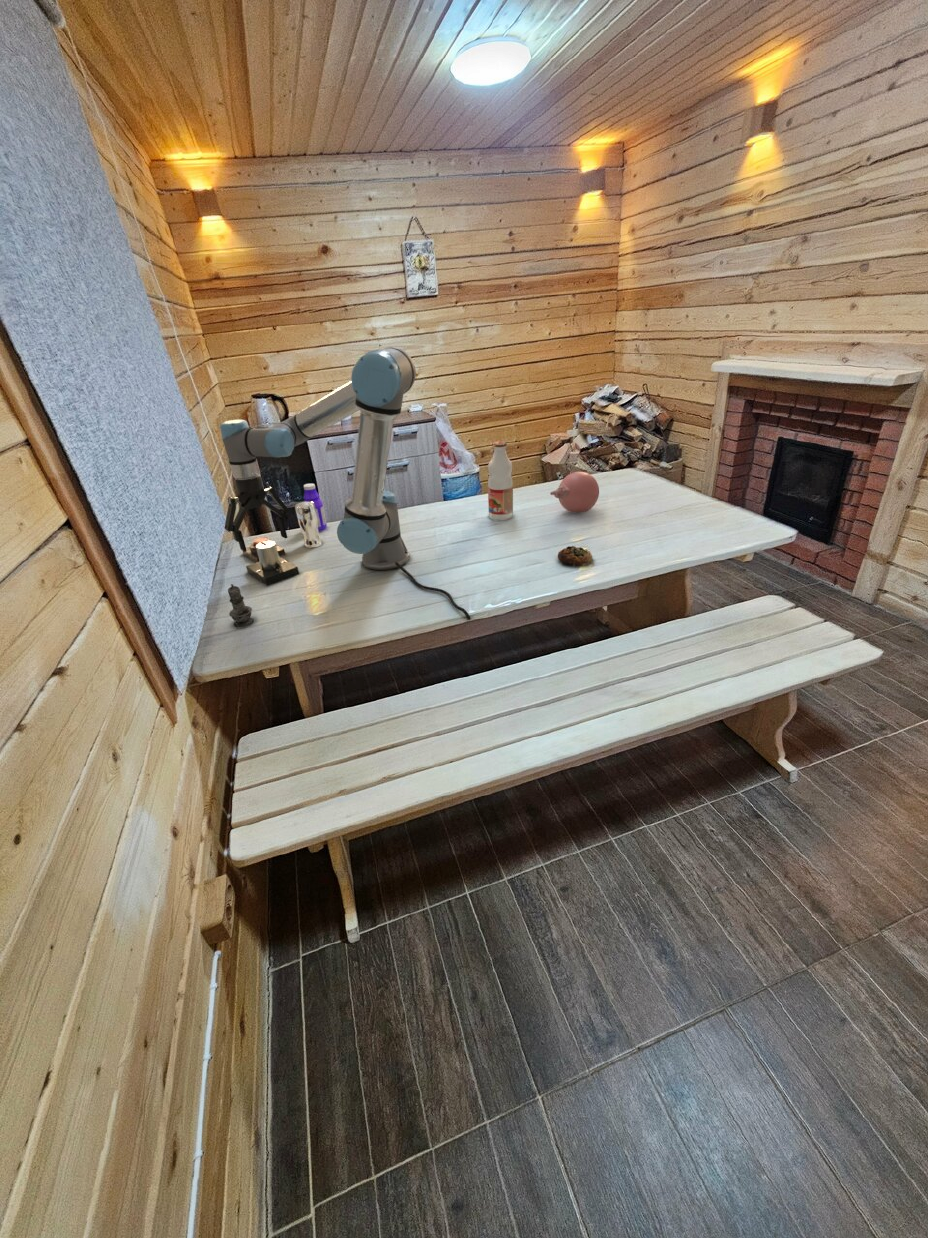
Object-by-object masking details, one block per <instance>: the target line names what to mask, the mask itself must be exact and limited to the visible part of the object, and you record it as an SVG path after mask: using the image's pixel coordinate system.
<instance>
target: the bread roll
mask: <svg viewBox="0 0 928 1238" xmlns="http://www.w3.org/2000/svg"><path fill="white" fill-rule="evenodd" d="M557 559H558V560H557V561H559V562H560V563H561V565H562V566H566V567H581V566H584V565H585V566H587V565H589V564H591V563H592V562H593V555H592V552H591V551H589V550H588V549H586V548H585V549H584V548H583V547H577V546H575V545H571V546H566V547H565V548H562V549H561V550H560V551H558V554H557Z"/></svg>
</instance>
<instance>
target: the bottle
mask: <svg viewBox="0 0 928 1238" xmlns="http://www.w3.org/2000/svg"><path fill="white" fill-rule="evenodd" d="M303 491H304V493H303V500H304V501H303V502H306V501H311V502H314V505H315V508H316V512H317V516H318V532H323V531H325V530H326V529H327V527H328V524H327V519H326V515H325V507H324V503H323V501H322V500H321V499H320V494H319V493H318V491H317V488H316V485H315V483H305V484H303Z"/></svg>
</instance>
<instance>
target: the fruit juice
mask: <svg viewBox="0 0 928 1238" xmlns="http://www.w3.org/2000/svg"><path fill="white" fill-rule="evenodd" d="M507 445H508V444H507V441H503V440H499V441H498V440H497V441H494V442H493V443H492V447H493V448H492V449H493V454H492V457H491V459H490V460H489V462H488V464H487V471H488V474H489V475H488V479H487V480H488V481H487V499H488V501H487V502H488V503H487V504H488V517H489V518H490V519H491V520H493V521H506V520H507V521H508V520H509V519H511V518H513V515H514V479H513V476H512V473H513V462H512V461H511V459H509V457H508V454H507Z"/></svg>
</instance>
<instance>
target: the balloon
mask: <svg viewBox="0 0 928 1238" xmlns="http://www.w3.org/2000/svg"><path fill="white" fill-rule="evenodd" d="M550 495H551V496H554V498H556V499H558V501H559V503H560V505H561V507H563V508H564V509H565V510H566V511H567V512H569V513H573V514H581V513H586V512H588V511H590V510H591V509H592V508H593V507H595V505H596V503H597V501H598V500H599V497H600V487H599V483H598V481H597V480H596V479H595V477H594V476H593V475H592V474H590V473H588V472H585V471H574V472H571V473H569V474H568V475H566V476H565V477H564V478H563V479H562V480H561V481H560V483H559V485H558V487H557V488H556V489H555V490H553V491H550Z"/></svg>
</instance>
